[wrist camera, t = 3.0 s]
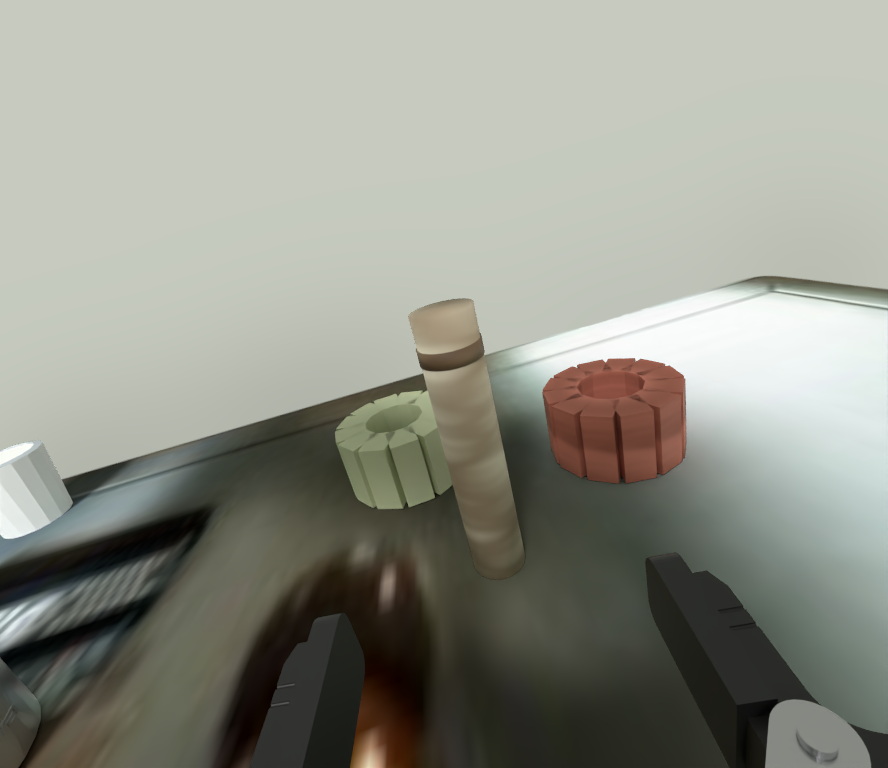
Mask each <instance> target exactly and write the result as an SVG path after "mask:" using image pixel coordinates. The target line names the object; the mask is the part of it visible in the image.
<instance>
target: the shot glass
mask: <svg viewBox="0 0 888 768" xmlns="http://www.w3.org/2000/svg"><path fill="white" fill-rule="evenodd" d="M72 504H73V501H72V500H71V498H70V496H69V494H68V492H67V490H66V488H65V486H64V484H63V482H62V480H61V478H60V476H59V474H58V472H57V470H56V468H55V466H54V464H53V462H52V460H51V458H50V456H49V454H48V452H47V450H46V448H45V447H44V444H43V442H42V441H41V440H35V441H29V442H25V443H21V444H18V445H15V446H12V447H9V448H6V449H3V450H0V535H1V536H2V537H3V538H6V539H13V538H17V537H21V536H24V535H26V534H29V533H31V532H34V531H36V530H38V529H40V528H42V527H44V526H46V525H48V524H50V523H51V522H53V521H54V520H56V519H57V518H59V517H60V516H62V515H63V514H64V513H65V512H66V511H68V510H69V509H70V508H71V506H72Z"/></svg>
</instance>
